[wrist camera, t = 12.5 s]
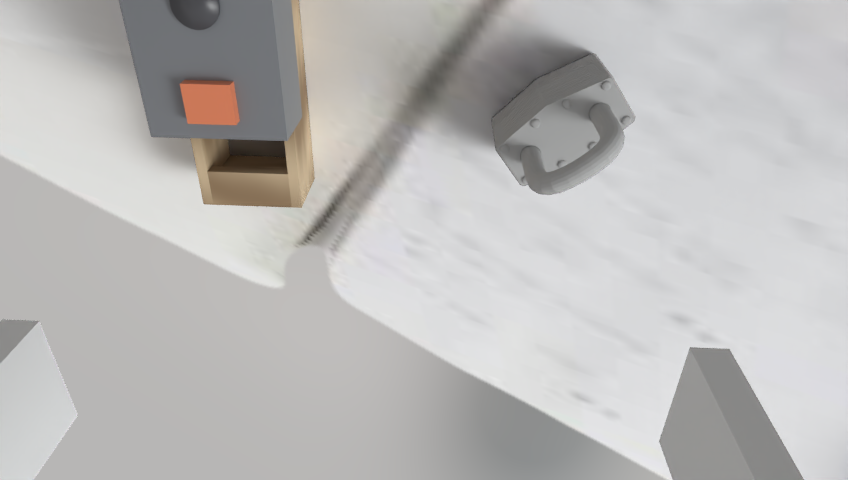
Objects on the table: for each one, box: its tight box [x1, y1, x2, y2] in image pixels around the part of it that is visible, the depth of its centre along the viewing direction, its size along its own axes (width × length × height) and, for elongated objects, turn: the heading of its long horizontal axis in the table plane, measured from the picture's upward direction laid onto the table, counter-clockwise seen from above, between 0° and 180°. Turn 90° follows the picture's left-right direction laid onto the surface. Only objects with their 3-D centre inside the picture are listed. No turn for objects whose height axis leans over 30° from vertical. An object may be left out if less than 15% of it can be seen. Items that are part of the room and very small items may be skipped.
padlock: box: [491, 53, 635, 195], centre depth 32 cm, size 7×4×10 cm, turn 126°
